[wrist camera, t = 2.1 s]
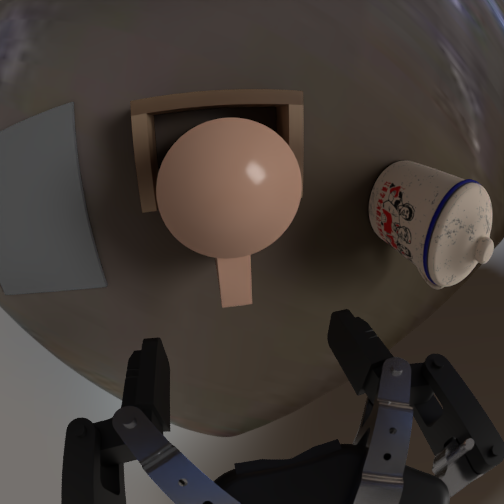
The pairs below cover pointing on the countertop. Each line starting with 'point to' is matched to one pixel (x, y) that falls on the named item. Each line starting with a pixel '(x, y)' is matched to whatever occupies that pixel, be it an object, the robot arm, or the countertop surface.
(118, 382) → the countertop surface
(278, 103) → the walnut holder
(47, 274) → the charcoal mat
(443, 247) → the teacup with lid
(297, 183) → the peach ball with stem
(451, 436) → the robot arm
